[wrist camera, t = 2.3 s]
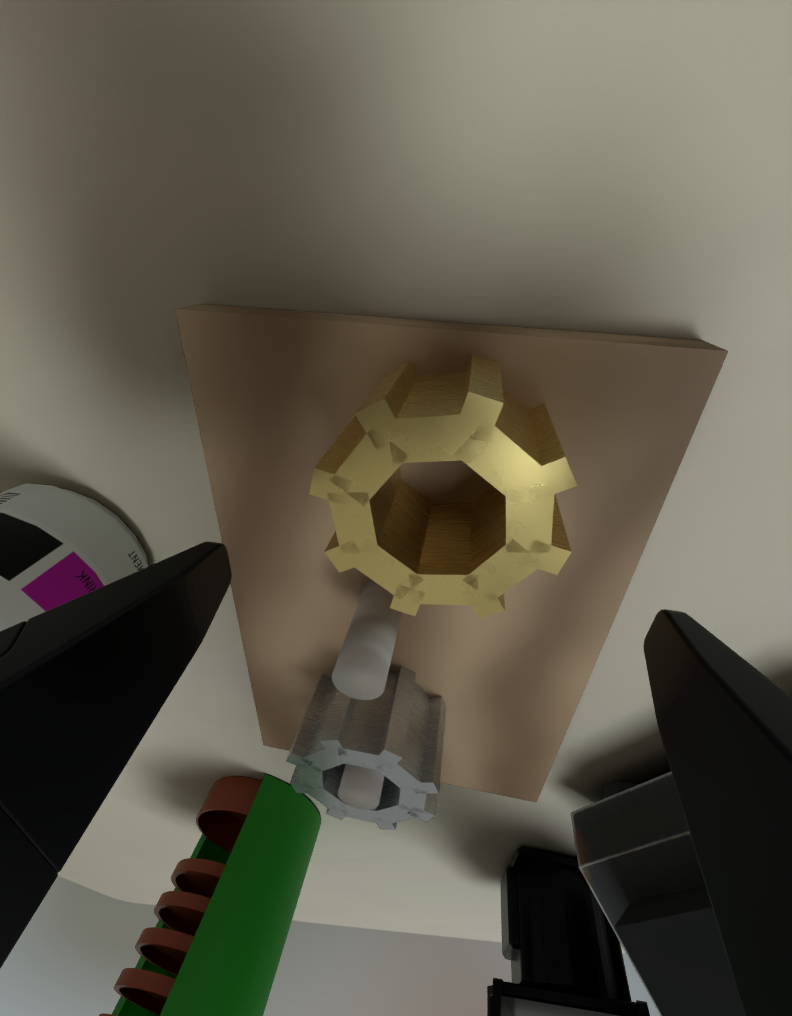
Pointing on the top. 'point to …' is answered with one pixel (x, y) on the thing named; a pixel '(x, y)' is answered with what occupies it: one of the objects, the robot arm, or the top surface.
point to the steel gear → (373, 748)
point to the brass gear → (446, 526)
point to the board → (358, 599)
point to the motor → (226, 906)
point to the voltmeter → (656, 896)
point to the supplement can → (58, 550)
